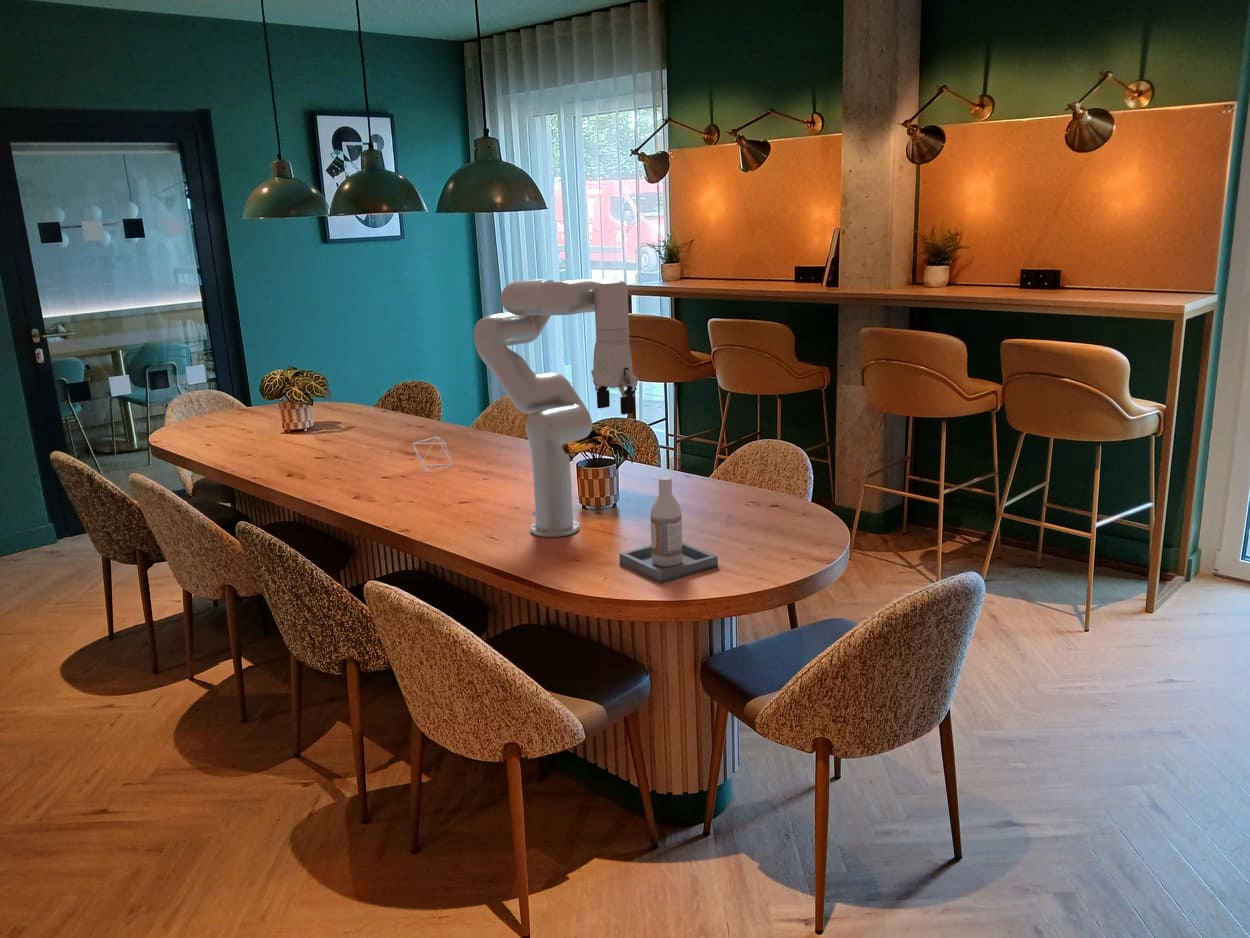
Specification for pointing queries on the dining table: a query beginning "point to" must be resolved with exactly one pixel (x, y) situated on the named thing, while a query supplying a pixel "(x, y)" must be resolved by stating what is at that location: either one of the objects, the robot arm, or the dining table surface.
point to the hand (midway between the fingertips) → (615, 410)
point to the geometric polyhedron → (428, 451)
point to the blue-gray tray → (691, 564)
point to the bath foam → (666, 527)
